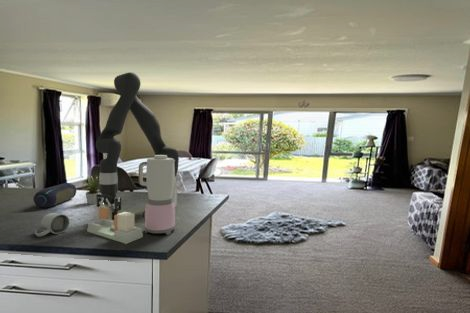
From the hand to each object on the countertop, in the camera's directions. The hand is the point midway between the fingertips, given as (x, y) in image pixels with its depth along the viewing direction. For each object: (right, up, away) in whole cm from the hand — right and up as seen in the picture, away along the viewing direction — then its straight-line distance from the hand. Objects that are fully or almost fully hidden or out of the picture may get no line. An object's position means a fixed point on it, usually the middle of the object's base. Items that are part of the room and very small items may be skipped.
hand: (108, 218), depth 122 cm
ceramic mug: (-16, -3, -14) cm, 22 cm away
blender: (+24, -4, -8) cm, 25 cm away
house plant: (-22, +1, +31) cm, 38 cm away
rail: (+9, -3, -13) cm, 16 cm away
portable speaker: (-42, +2, +29) cm, 51 cm away
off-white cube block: (0, -2, 0) cm, 2 cm away
